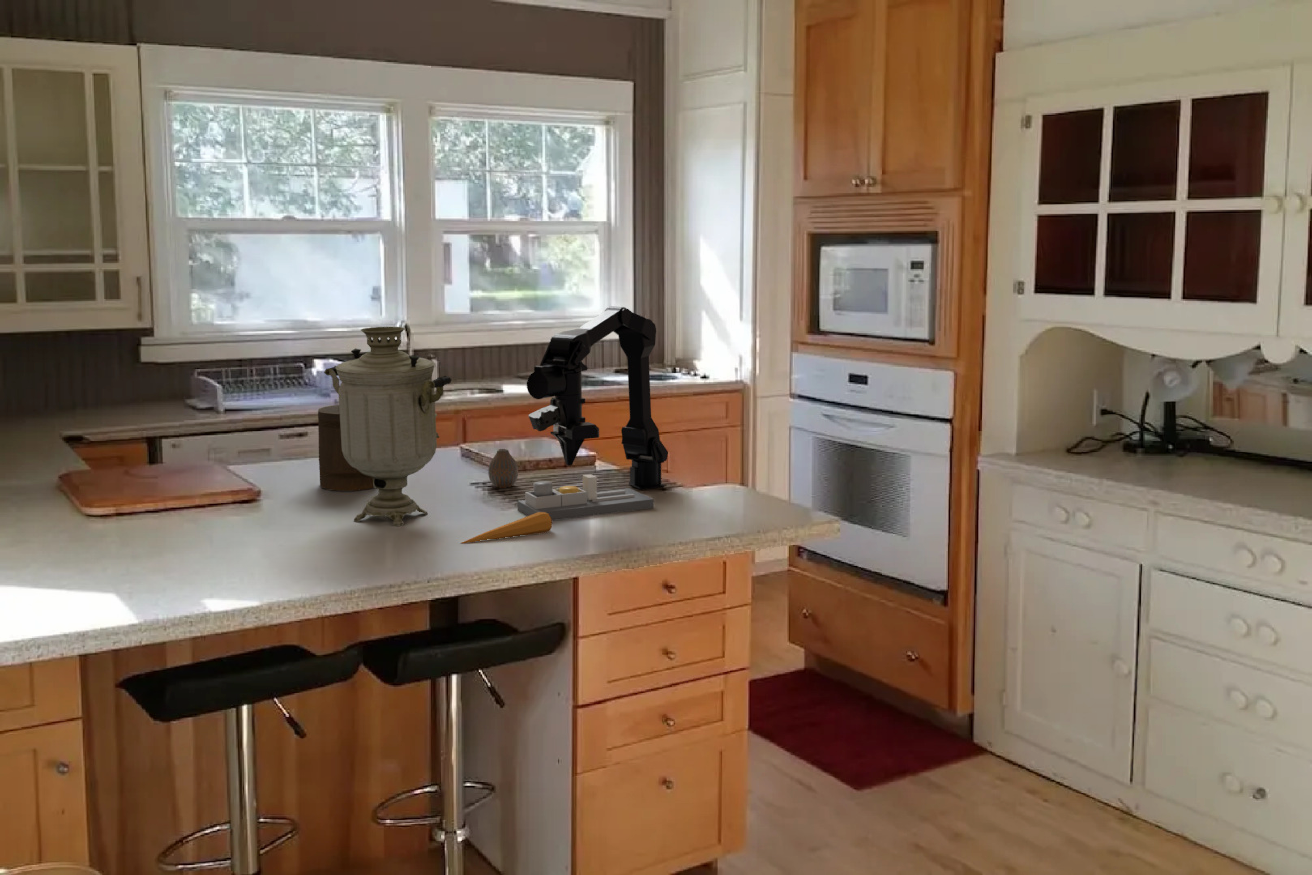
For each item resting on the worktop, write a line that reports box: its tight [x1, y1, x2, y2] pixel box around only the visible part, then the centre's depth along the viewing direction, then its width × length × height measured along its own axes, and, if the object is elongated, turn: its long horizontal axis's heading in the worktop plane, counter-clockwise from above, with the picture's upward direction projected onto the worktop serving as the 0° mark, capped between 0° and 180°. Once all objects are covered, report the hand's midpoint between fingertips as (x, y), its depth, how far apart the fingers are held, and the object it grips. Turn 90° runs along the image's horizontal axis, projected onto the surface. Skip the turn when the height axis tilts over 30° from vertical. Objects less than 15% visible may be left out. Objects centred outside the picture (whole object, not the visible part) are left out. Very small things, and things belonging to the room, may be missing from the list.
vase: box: [487, 448, 519, 489], centre depth 293 cm, size 7×7×9 cm
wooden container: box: [317, 404, 376, 492], centre depth 293 cm, size 15×15×22 cm
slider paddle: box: [582, 473, 598, 500], centre depth 272 cm, size 2×3×5 cm, turn 28°
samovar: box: [323, 326, 452, 527], centre depth 262 cm, size 30×26×40 cm
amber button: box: [559, 485, 579, 494], centre depth 270 cm, size 4×4×3 cm
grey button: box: [532, 480, 553, 497], centre depth 267 cm, size 4×4×3 cm
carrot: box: [461, 512, 553, 544], centre depth 249 cm, size 20×4×4 cm, turn 122°
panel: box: [517, 487, 655, 521], centre depth 272 cm, size 27×12×4 cm, turn 118°
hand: (569, 465), depth 269 cm, fingers closed
